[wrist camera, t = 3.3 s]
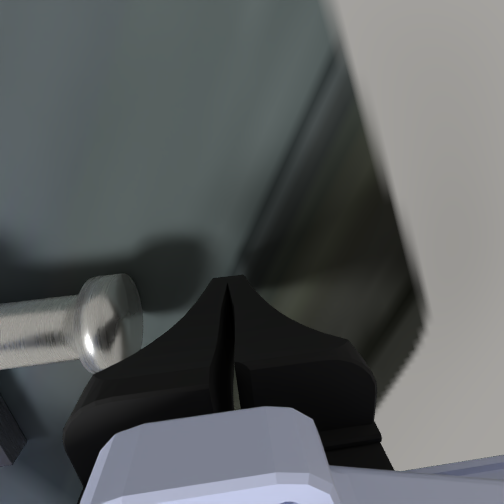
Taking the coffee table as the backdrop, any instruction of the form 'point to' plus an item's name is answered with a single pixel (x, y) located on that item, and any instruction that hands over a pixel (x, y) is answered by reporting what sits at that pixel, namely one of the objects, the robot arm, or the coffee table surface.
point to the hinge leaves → (9, 437)
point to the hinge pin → (74, 326)
